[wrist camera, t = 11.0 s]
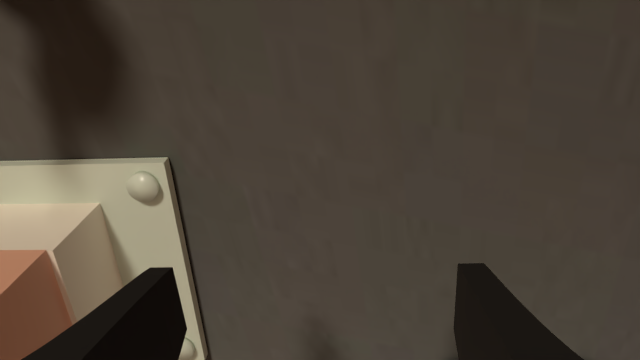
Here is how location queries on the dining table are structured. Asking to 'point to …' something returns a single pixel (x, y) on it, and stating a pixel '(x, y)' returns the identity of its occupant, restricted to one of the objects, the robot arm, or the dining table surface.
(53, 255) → the bottom brick
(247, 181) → the dining table surface
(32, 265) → the top brick
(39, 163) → the baseplate
